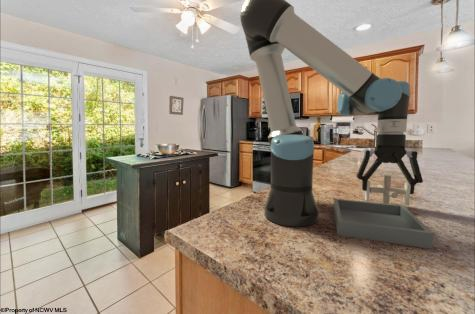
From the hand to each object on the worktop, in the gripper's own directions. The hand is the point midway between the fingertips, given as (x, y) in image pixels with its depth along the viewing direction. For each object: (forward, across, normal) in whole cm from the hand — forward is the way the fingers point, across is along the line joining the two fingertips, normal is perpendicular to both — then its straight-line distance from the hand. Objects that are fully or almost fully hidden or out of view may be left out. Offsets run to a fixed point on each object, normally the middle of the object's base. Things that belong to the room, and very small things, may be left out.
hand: (385, 201), depth 70 cm
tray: (+1, -7, -18) cm, 19 cm away
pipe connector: (+1, 0, 0) cm, 1 cm away
